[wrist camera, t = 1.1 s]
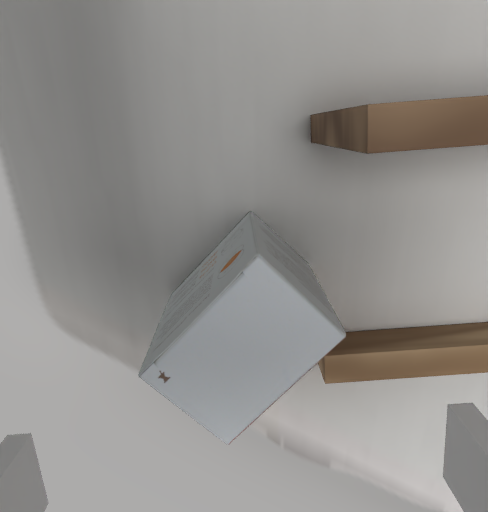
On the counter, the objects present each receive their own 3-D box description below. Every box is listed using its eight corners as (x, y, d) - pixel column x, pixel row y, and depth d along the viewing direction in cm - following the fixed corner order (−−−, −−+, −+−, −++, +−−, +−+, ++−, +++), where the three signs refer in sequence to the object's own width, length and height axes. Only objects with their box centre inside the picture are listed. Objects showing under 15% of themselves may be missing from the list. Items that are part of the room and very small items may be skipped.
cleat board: (310, 114, 26) (367, 104, 14) (577, 94, 26) (852, 67, 14) (317, 359, 31) (364, 499, 19) (542, 343, 30) (727, 474, 19)
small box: (230, 343, 30) (225, 451, 20) (169, 292, 29) (132, 380, 19) (312, 264, 29) (352, 338, 18) (251, 207, 27) (258, 253, 17)
